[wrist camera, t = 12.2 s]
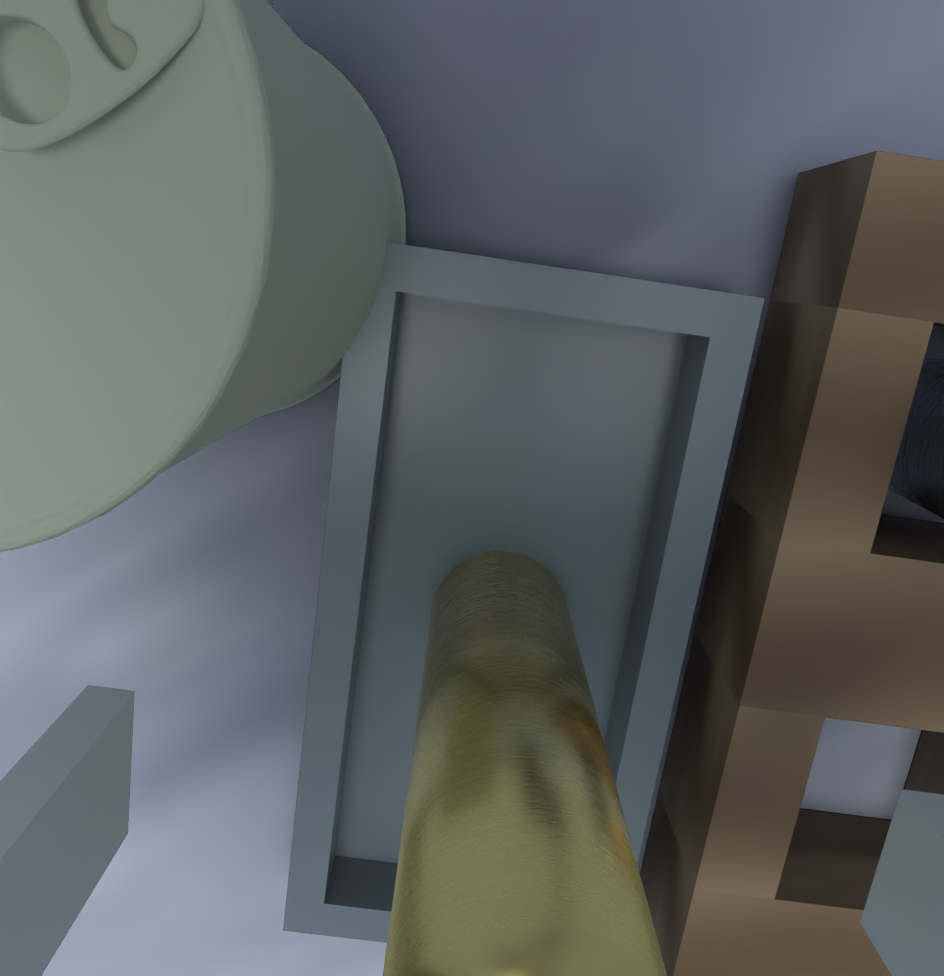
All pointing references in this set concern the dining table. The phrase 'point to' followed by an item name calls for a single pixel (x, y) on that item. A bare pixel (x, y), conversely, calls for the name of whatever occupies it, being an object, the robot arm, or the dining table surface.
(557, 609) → the brass pin
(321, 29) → the dining table surface
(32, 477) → the can
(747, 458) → the block
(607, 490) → the tray
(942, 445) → the steel pin
